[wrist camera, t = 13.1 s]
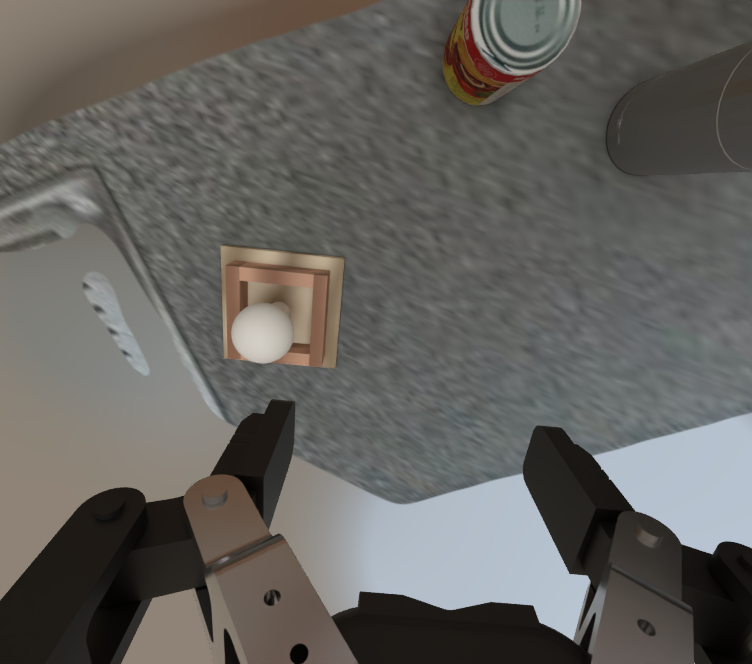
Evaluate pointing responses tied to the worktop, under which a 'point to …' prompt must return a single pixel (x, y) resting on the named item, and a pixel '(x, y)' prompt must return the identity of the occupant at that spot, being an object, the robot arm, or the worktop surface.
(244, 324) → the lightbulb
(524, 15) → the canned food
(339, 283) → the socket stand
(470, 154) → the worktop surface
